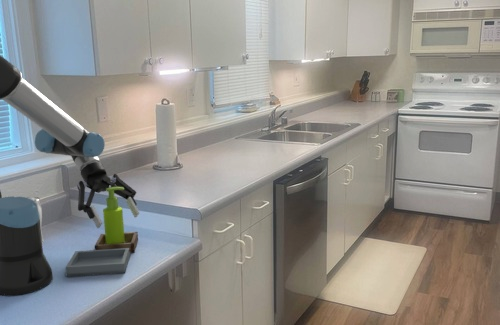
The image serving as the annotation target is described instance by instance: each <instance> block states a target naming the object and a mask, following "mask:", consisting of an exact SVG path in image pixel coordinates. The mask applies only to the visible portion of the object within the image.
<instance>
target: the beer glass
mask: <svg viewBox="0 0 500 325" xmlns="http://www.w3.org/2000/svg"><path fill="white" fill-rule="evenodd" d="M26 198H29V199H31V200H33V201H34V202H35V203H36V204H37V207H38V212H39V215H40V228H41V229H42V223H43V222H42V220H43V209H42V204H41V199H40V197H39V196H28V197H26ZM41 238H42V243H44V241H45V240H44V237H43V233H42V231H41Z"/></svg>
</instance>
